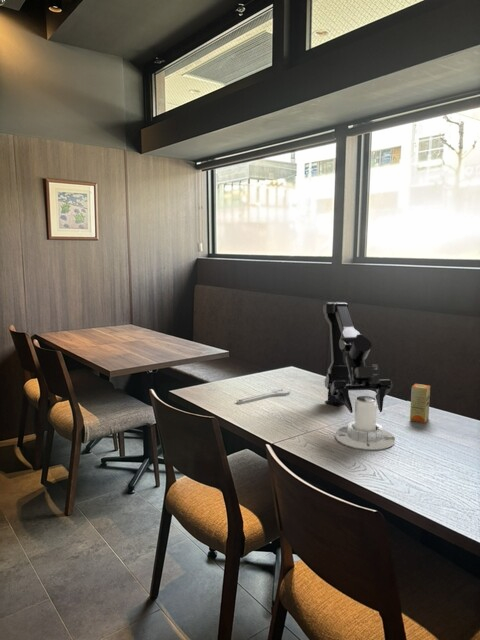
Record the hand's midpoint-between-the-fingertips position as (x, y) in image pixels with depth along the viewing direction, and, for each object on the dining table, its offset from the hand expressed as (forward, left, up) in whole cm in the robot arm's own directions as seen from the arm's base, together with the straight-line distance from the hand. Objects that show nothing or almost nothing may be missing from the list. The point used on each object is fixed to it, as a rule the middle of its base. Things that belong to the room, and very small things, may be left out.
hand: (366, 412), depth 146 cm
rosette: (-1, -1, -9) cm, 9 cm away
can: (-1, -1, -8) cm, 8 cm away
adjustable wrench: (-4, -52, -10) cm, 53 cm away
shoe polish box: (-29, +1, -9) cm, 30 cm away
